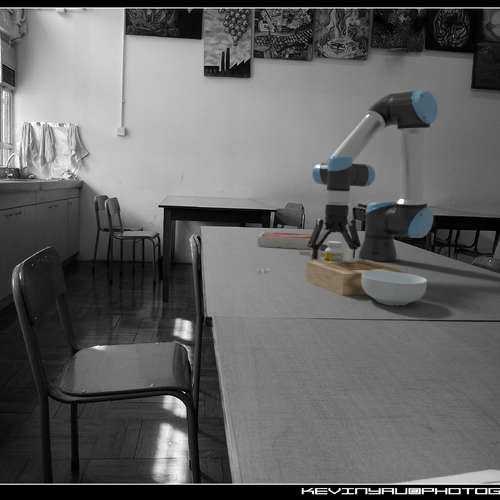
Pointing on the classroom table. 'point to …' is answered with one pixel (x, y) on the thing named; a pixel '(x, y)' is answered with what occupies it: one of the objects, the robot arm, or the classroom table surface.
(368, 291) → the cereal bowl
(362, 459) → the classroom table surface
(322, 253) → the pipe connector
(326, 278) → the seat board
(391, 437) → the classroom table surface
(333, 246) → the pill bottle
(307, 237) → the product packaging
